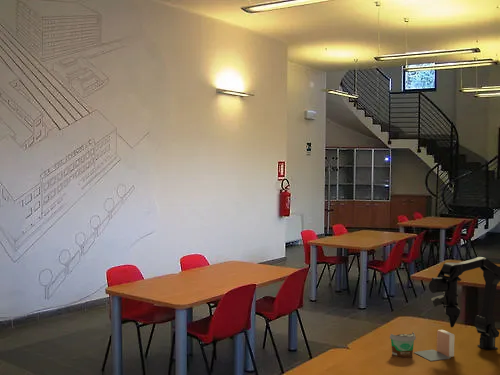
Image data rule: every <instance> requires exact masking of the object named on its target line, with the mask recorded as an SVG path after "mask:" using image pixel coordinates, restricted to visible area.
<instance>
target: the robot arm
mask: <svg viewBox="0 0 500 375" xmlns="http://www.w3.org/2000/svg"><path fill="white" fill-rule="evenodd" d="M475 269H480V270H481V271H482V275H483V276H482V277H483V279H484V282H485V285H484V289H483V290H484V293H483V298H482V303H481V310H480V312H479V314H478V315H476V314H475V317H474V318H475V319H474V322H473V323H474V328H475V329H476V332H477V334H480V335H479V344H477V347H478V348H481V349H484V350H486V351H492V350H497V349H499V348H498V347H497V346H496V338H498V337H499V336H500V331H499V330H498V329H497V328H496V327H495V326H496V325H495V324H496V321H495V318H494V316H493V313H494V307H495V299H496V292H497V287H498V286H497V285H498V284H499V283H500V266H499V265H497V264H496V263H494V262H492V261H490V260H489V259H488V258H487V257H482V256H477V257H475V258H472V259H471V258H470V259H468V260H465V261H464V260H463V261H460V262H445V263H443V264H442V266H441V269H440V270H439V272H438V274H437V275H436V277H431V280H430V281H429V283H428V289H429V291H430V292H431V293H433V294H438V293H443V294H441V295H437V296H433V297H431V299H430V300H431V303H432V305H433V307H436V308H437V307H438V306H440V305H442V307H443V308H444V313H445V316H447V319H448V322H449V325H450V328H454V327H455V324H456V322H457V320H458V319H459V316H460V315H461V308H460V307H459V302H458V301H459V300H458V297H459V294H458V282H460V281H462V279H461V277H459V276H461V275H463V273H465V272H467V271H471V270H475Z"/></svg>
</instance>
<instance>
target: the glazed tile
mask: <svg viewBox="0 0 500 375" xmlns="http://www.w3.org/2000/svg"><path fill="white" fill-rule="evenodd" d="M436 333H437V334H436V351H437V352H440V353H442V354H444V355H446V356H448V357H450V358H451V357H454V356H455V334H454V333H451V332H449V331H447V330H444V329H438V330H437V331H436Z"/></svg>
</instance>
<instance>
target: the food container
mask: <svg viewBox="0 0 500 375" xmlns="http://www.w3.org/2000/svg"><path fill="white" fill-rule="evenodd" d="M389 339H390V341H391V342H390V344H391V355H392V357H395V358H399V359H409V358H412V357H413V355H414V354H413V353H414V345H415V344H414V343H415V341H416V334H415V332H414V331H412V333H400V334H393V333H390V335H389Z"/></svg>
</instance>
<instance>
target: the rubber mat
mask: <svg viewBox="0 0 500 375" xmlns="http://www.w3.org/2000/svg"><path fill="white" fill-rule="evenodd" d="M413 353H414V354H416V355H417V356H420V357H421V358H424V359H425V360H427V361H429V362H435V361H443V360H444V361H445V360H450V359H451V357H448V356H446V355H444V354H442V353H440V352H437V350H435V349H427V350H426V349H425V350H418V351H413Z"/></svg>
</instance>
